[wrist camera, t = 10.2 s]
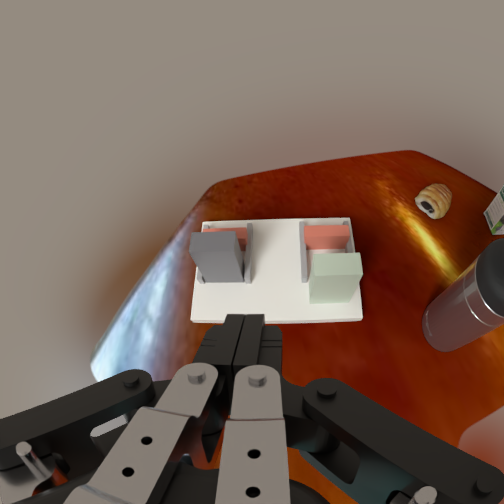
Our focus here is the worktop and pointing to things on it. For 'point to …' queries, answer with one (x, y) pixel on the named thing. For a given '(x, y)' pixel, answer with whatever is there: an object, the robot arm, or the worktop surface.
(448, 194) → the pastry
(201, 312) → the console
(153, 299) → the worktop surface
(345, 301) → the pale green tall block
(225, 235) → the grey upright block
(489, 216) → the syrup box
